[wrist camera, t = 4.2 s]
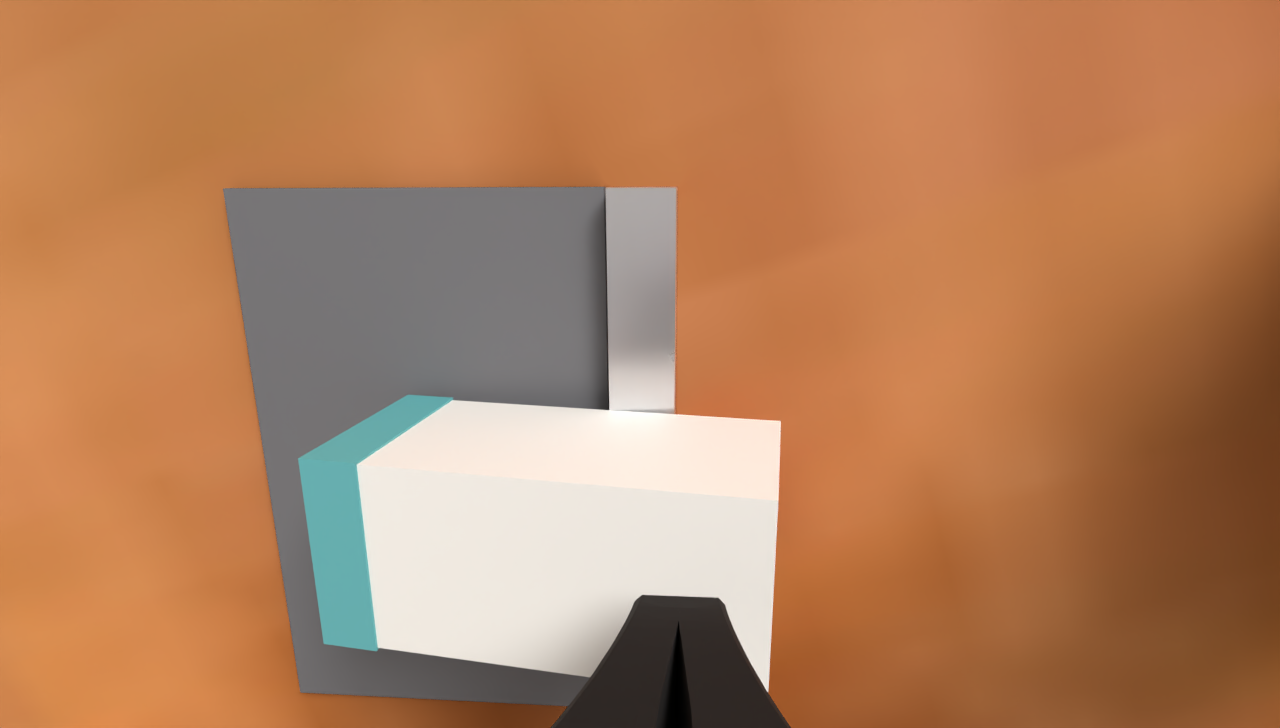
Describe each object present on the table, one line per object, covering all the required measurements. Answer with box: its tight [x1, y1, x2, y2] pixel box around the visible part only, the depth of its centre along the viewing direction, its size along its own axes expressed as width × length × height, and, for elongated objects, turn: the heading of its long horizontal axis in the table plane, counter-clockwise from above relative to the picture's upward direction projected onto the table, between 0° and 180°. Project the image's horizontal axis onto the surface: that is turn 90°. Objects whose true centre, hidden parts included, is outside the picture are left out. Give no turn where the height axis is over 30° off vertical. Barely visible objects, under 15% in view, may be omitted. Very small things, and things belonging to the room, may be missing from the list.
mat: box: [223, 187, 609, 706], centre depth 18 cm, size 9×14×1 cm, turn 0°
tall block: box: [298, 395, 781, 692], centre depth 15 cm, size 4×4×9 cm
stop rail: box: [606, 187, 678, 414], centre depth 17 cm, size 2×14×1 cm, turn 0°
